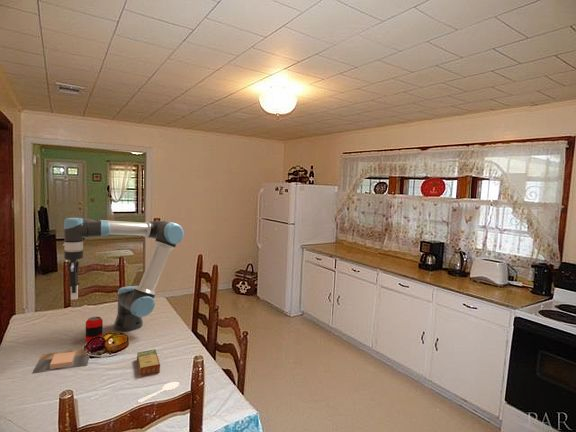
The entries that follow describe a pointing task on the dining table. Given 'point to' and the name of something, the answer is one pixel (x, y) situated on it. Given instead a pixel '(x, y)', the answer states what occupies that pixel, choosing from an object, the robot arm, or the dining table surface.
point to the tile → (62, 360)
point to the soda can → (93, 328)
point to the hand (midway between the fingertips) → (74, 298)
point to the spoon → (165, 388)
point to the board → (46, 359)
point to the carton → (148, 362)
